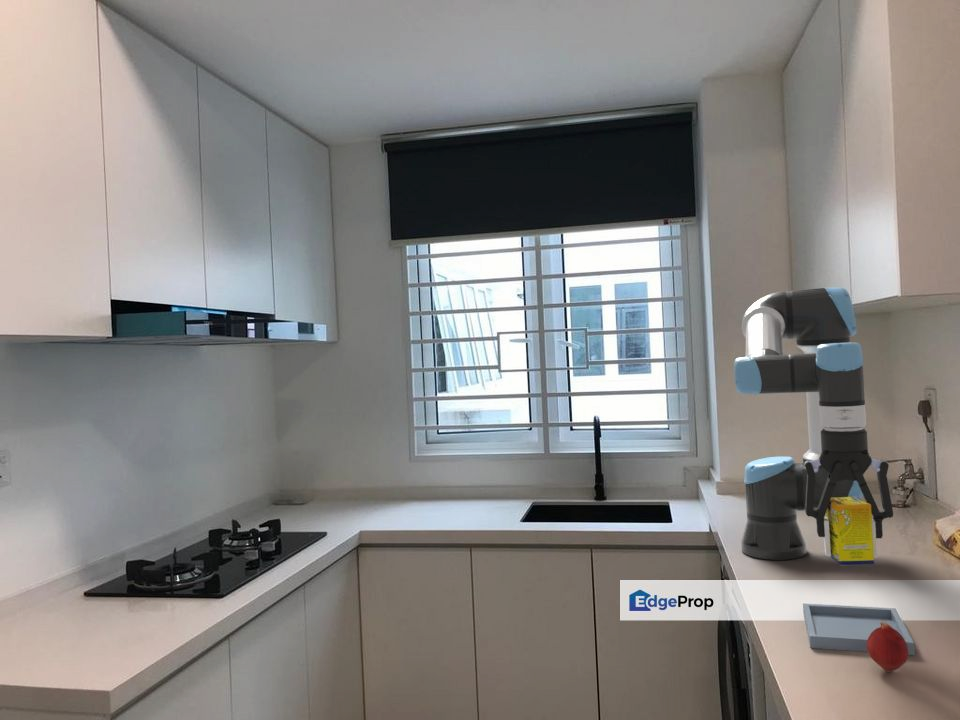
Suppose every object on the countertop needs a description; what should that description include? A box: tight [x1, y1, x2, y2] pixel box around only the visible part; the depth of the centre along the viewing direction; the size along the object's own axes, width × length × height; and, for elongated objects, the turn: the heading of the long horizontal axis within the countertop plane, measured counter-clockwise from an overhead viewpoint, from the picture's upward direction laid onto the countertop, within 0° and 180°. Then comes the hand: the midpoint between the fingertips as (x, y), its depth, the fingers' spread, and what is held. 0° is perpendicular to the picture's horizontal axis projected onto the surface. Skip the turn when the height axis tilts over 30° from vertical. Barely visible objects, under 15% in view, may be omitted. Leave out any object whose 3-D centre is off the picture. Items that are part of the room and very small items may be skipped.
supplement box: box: [825, 497, 875, 566], centre depth 133 cm, size 6×6×11 cm
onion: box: [867, 622, 909, 673], centre depth 118 cm, size 6×6×8 cm
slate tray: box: [802, 603, 916, 656], centre depth 133 cm, size 16×16×2 cm
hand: (850, 555), depth 133 cm, fingers closed on supplement box, 7 cm apart
